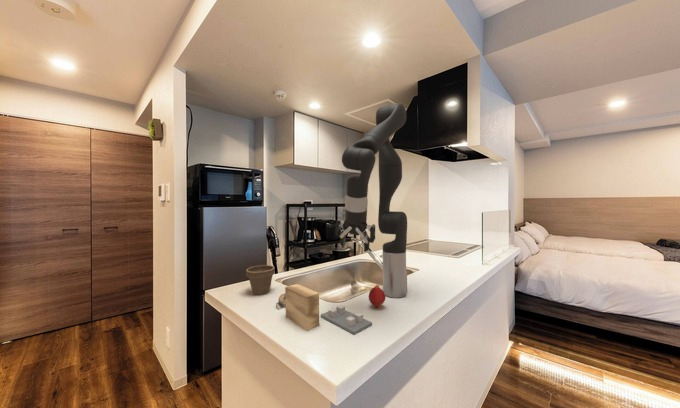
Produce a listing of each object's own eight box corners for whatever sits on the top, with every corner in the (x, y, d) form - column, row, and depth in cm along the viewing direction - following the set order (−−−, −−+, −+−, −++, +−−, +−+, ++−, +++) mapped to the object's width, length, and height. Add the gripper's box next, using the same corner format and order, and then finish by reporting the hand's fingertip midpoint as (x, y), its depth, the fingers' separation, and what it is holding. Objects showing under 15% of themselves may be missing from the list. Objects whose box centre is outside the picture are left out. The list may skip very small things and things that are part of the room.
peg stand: (338, 309, 87) (338, 301, 87) (372, 325, 76) (372, 315, 76) (320, 317, 82) (320, 308, 82) (353, 334, 71) (353, 325, 71)
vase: (290, 302, 94) (291, 286, 94) (292, 309, 89) (293, 292, 89) (276, 303, 92) (276, 288, 92) (277, 311, 87) (277, 294, 87)
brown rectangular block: (297, 313, 85) (296, 283, 85) (319, 325, 76) (318, 293, 76) (285, 317, 82) (285, 287, 82) (307, 331, 73) (306, 297, 73)
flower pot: (247, 289, 108) (246, 265, 108) (274, 286, 112) (273, 263, 112) (245, 299, 97) (245, 273, 97) (275, 295, 101) (275, 270, 101)
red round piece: (371, 311, 85) (371, 288, 85) (366, 304, 91) (366, 282, 91) (387, 309, 86) (387, 286, 86) (381, 303, 92) (381, 281, 92)
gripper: (379, 206, 86) (375, 247, 92) (340, 200, 91) (339, 240, 97) (373, 214, 80) (370, 258, 86) (332, 207, 85) (332, 249, 90)
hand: (354, 248), depth 91 cm, fingers open, 8 cm apart
